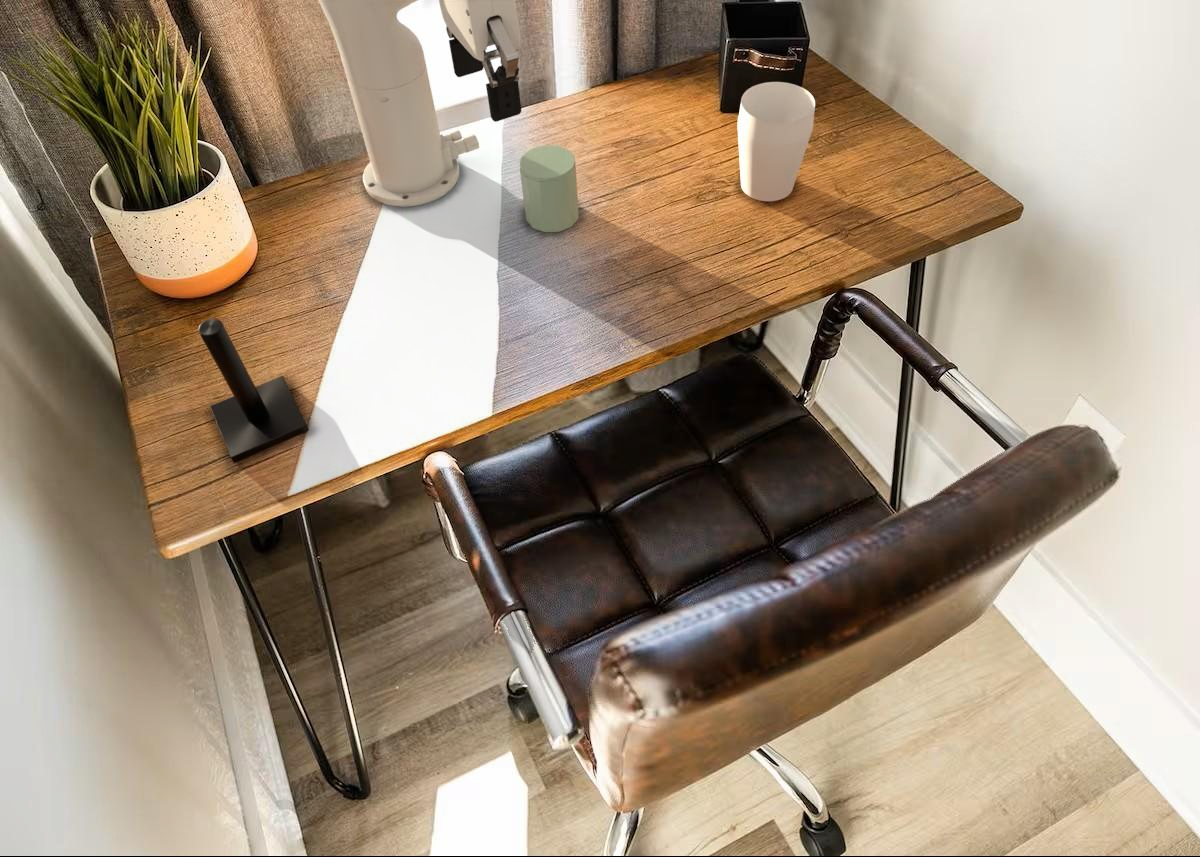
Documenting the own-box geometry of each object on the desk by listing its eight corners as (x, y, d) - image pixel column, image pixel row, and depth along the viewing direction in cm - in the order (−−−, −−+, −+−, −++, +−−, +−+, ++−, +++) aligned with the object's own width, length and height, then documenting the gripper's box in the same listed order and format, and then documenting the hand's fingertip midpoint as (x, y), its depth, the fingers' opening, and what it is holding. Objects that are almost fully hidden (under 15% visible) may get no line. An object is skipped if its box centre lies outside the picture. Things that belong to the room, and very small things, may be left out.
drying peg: (285, 381, 97) (239, 285, 86) (309, 430, 93) (265, 336, 82) (212, 411, 95) (156, 317, 84) (234, 463, 90) (177, 371, 79)
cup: (720, 196, 114) (727, 112, 104) (747, 158, 119) (756, 74, 109) (787, 216, 111) (801, 131, 102) (812, 175, 116) (827, 91, 106)
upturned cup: (562, 192, 116) (558, 138, 109) (588, 220, 112) (585, 166, 106) (517, 210, 114) (510, 156, 107) (541, 238, 110) (535, 184, 104)
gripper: (540, -53, 77) (555, 124, 90) (463, -121, 86) (487, 48, 100) (459, -31, 75) (487, 146, 88) (390, -103, 84) (424, 66, 98)
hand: (487, 94), depth 94 cm, fingers open, 9 cm apart
